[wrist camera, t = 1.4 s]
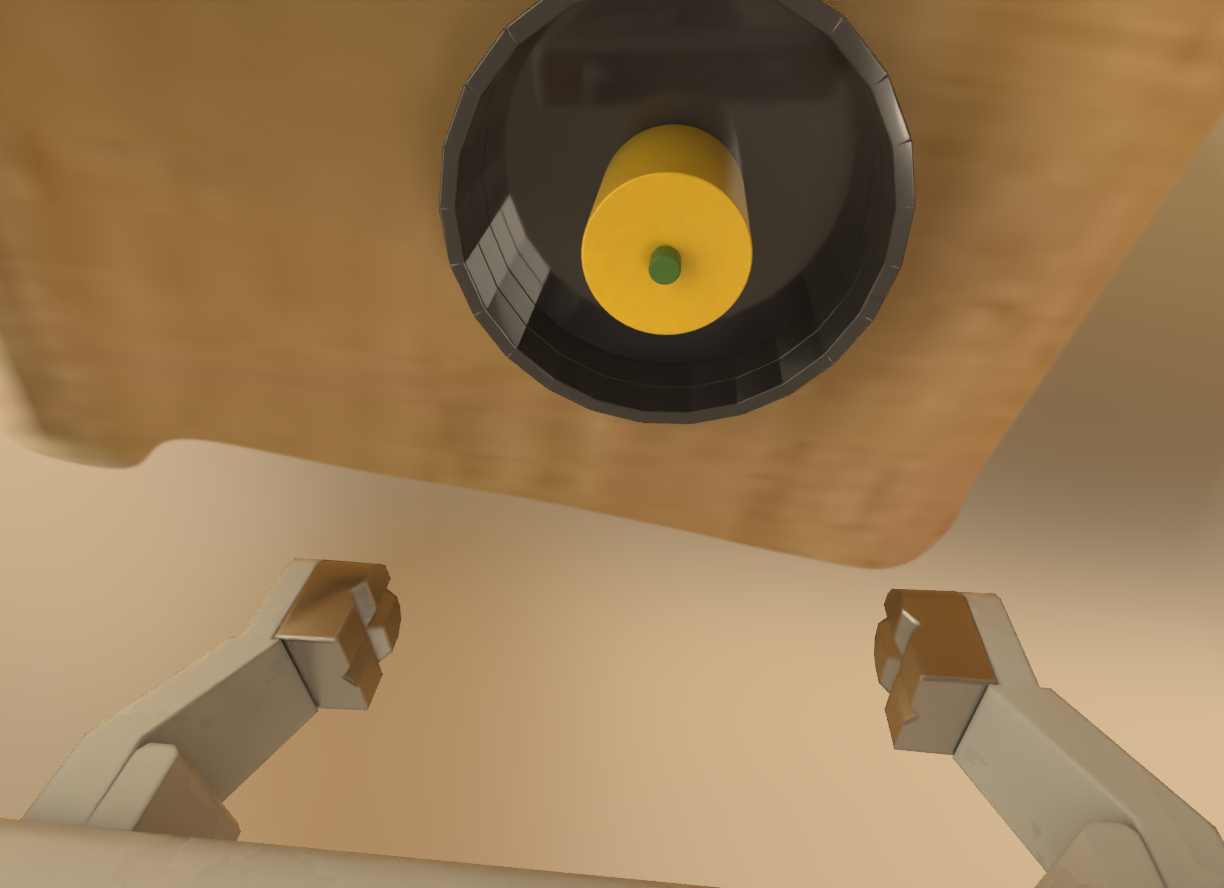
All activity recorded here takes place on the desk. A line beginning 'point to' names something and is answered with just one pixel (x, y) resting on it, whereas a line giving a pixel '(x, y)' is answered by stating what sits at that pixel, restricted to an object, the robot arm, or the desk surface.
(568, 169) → the pan
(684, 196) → the yellow pepper
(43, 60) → the desk surface
